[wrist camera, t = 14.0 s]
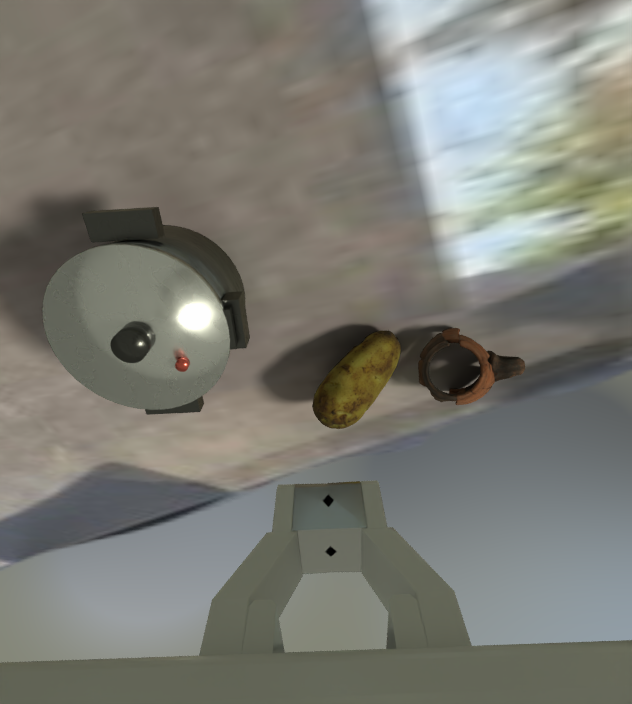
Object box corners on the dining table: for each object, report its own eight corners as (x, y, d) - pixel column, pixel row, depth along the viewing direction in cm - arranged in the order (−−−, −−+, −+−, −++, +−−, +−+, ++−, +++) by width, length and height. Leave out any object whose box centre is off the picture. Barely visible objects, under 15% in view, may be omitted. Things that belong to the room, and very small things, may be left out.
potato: (414, 367, 50) (430, 403, 43) (328, 408, 53) (330, 447, 46) (386, 316, 47) (399, 346, 40) (296, 363, 50) (293, 398, 43)
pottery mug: (429, 401, 53) (422, 415, 46) (415, 334, 53) (406, 337, 45) (526, 388, 49) (536, 402, 41) (511, 315, 48) (519, 315, 41)
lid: (18, 248, 32) (-11, 258, 29) (219, 236, 32) (211, 244, 29) (84, 409, 40) (66, 429, 37) (246, 398, 40) (242, 418, 37)
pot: (80, 204, 41) (16, 218, 32) (243, 194, 40) (223, 206, 32) (135, 375, 50) (97, 422, 42) (266, 368, 50) (256, 414, 41)
